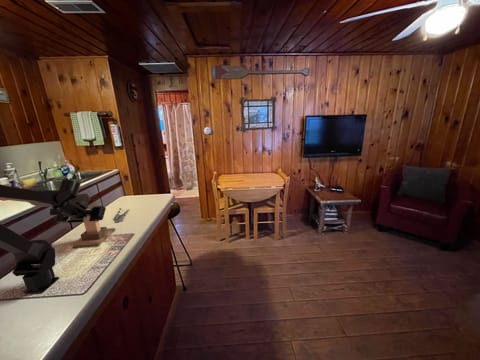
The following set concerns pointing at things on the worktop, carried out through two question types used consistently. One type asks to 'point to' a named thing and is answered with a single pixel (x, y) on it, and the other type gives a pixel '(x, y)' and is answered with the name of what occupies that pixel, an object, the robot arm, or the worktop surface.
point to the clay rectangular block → (91, 225)
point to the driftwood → (119, 216)
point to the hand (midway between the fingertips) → (93, 220)
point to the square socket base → (94, 238)
